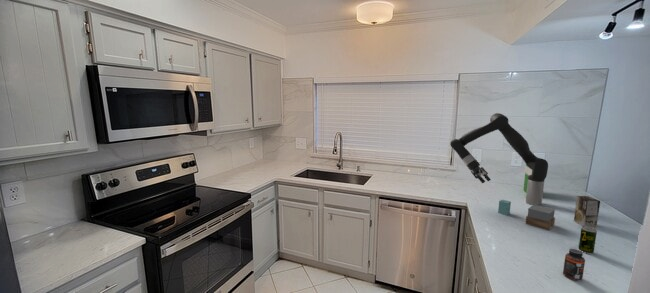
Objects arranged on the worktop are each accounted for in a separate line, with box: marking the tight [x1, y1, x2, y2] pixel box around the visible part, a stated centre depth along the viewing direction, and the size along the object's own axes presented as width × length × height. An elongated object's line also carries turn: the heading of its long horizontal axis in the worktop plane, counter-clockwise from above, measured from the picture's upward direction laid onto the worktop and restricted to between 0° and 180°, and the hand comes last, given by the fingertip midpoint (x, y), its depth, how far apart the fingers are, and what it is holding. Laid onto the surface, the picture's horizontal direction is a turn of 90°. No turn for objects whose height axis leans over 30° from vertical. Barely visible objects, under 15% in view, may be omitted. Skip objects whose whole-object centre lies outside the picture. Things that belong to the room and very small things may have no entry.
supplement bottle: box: [562, 248, 586, 281], centre depth 110 cm, size 6×6×11 cm
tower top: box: [527, 205, 555, 222], centre depth 159 cm, size 10×10×5 cm
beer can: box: [578, 225, 598, 254], centre depth 129 cm, size 5×5×12 cm
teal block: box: [497, 199, 512, 216], centre depth 177 cm, size 5×5×8 cm
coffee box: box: [573, 195, 601, 229], centre depth 158 cm, size 9×6×16 cm
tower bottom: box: [524, 214, 556, 231], centre depth 159 cm, size 11×11×5 cm
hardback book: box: [523, 164, 533, 194], centre depth 213 cm, size 18×7×24 cm, turn 156°
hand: (486, 181), depth 184 cm, fingers open, 8 cm apart
